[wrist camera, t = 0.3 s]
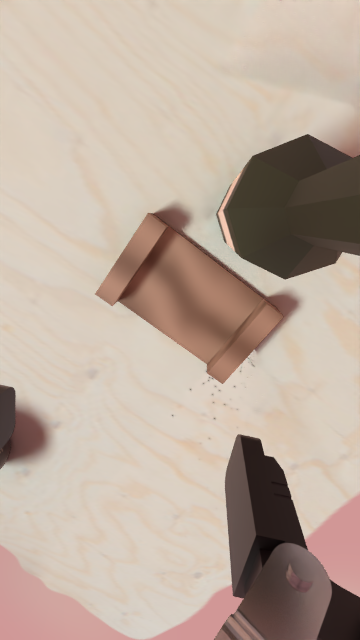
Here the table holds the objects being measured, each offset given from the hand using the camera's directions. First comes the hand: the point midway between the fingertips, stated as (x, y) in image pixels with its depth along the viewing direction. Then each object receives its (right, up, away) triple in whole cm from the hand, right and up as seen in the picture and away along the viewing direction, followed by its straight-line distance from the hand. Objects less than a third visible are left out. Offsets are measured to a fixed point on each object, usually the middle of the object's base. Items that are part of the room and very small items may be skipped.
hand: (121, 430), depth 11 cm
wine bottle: (+10, +16, +24) cm, 30 cm away
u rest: (+3, +6, +27) cm, 28 cm away
